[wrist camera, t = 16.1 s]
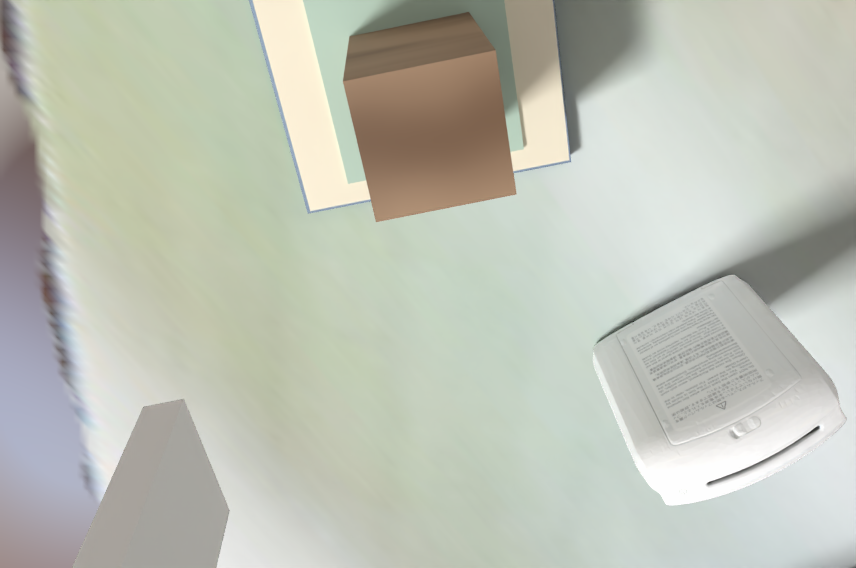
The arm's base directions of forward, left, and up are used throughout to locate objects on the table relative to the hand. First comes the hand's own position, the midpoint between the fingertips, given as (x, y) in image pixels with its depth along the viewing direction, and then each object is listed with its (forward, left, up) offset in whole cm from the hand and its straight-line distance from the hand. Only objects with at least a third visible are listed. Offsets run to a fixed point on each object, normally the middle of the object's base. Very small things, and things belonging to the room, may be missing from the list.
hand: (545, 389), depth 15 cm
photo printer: (-18, -11, -28) cm, 35 cm away
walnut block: (+1, +1, -22) cm, 22 cm away
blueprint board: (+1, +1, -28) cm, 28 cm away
